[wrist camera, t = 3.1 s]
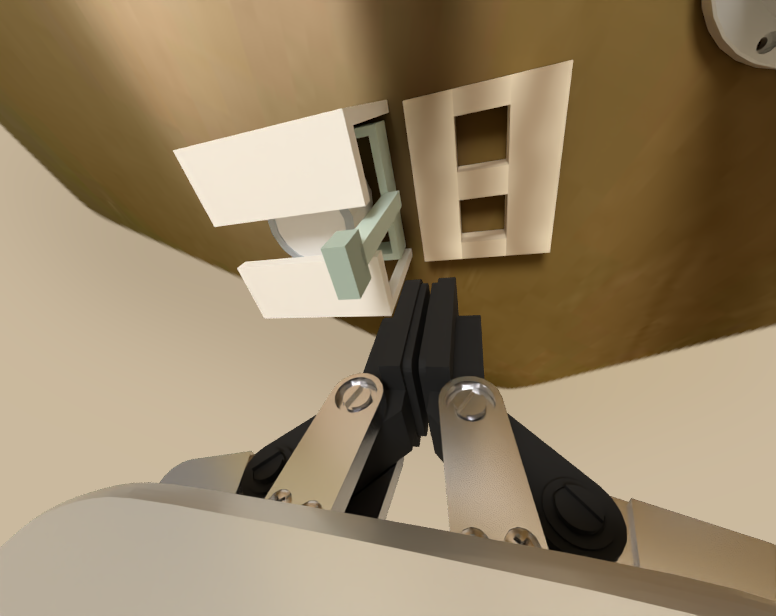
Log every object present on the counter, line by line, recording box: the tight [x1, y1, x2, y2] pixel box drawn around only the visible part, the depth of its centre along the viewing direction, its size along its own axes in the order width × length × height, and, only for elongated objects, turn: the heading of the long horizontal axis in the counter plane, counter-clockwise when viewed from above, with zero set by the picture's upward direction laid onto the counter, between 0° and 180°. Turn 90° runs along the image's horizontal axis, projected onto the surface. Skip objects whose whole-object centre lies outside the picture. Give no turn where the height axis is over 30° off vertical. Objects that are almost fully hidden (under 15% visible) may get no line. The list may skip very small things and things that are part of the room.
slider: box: [321, 120, 406, 300], centre depth 21 cm, size 11×10×14 cm
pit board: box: [403, 60, 573, 262], centre depth 22 cm, size 10×12×2 cm
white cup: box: [268, 179, 373, 258], centre depth 24 cm, size 7×7×7 cm
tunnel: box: [173, 100, 413, 318], centre depth 23 cm, size 11×13×10 cm
